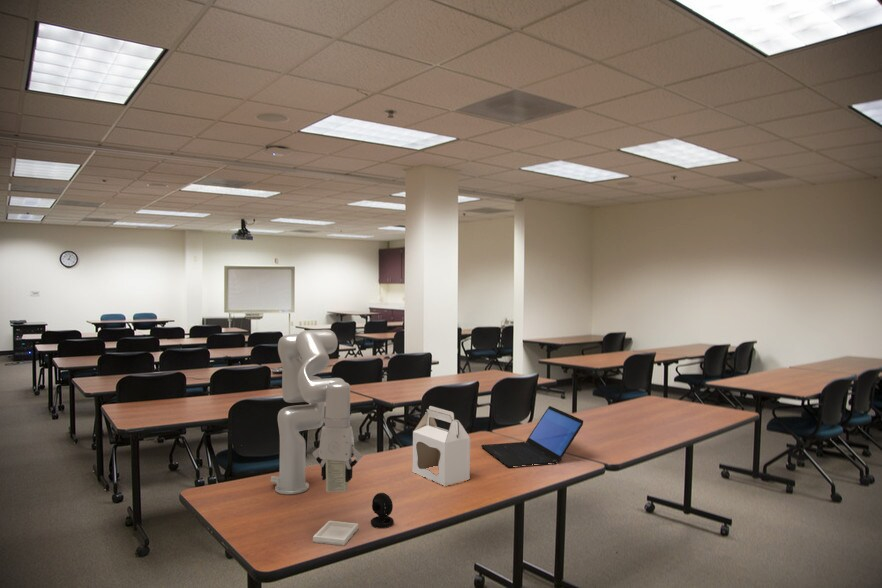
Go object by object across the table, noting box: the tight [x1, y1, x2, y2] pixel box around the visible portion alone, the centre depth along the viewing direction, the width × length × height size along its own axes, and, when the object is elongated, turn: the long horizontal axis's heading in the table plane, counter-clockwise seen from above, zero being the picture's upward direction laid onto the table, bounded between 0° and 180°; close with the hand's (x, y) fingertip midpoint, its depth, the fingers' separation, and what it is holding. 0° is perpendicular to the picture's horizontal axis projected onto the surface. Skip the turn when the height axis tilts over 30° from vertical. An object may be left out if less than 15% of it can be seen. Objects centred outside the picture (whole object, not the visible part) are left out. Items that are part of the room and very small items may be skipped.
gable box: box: [412, 405, 471, 486], centre depth 229 cm, size 22×13×28 cm, turn 38°
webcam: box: [370, 492, 395, 529], centre depth 182 cm, size 8×8×10 cm
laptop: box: [480, 405, 584, 468], centre depth 261 cm, size 33×38×19 cm
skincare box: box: [325, 453, 349, 493], centre depth 172 cm, size 6×4×12 cm
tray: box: [312, 520, 359, 547], centre depth 172 cm, size 10×12×2 cm
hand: (336, 479), depth 172 cm, fingers closed on skincare box, 6 cm apart
